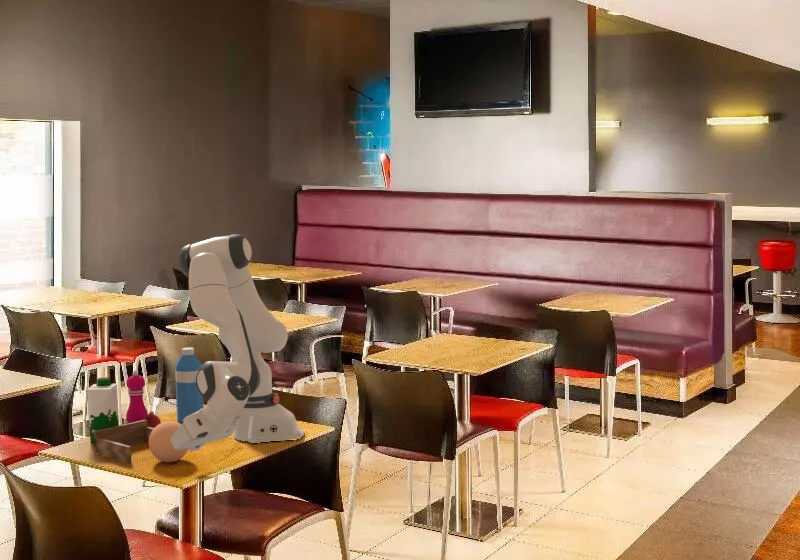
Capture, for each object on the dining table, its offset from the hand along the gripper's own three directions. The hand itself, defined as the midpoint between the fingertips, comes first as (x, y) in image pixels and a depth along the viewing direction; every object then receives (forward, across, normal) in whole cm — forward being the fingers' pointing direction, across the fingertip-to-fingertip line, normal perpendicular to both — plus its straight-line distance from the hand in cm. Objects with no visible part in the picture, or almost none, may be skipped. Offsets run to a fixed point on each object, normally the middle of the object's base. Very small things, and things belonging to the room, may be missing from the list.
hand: (193, 448), depth 300 cm
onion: (+33, -15, -25) cm, 44 cm away
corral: (+24, 0, -15) cm, 28 cm away
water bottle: (+38, -36, -30) cm, 60 cm away
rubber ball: (+8, 0, -8) cm, 12 cm away
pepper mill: (+40, -17, -32) cm, 54 cm away
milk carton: (+37, -1, -29) cm, 47 cm away
